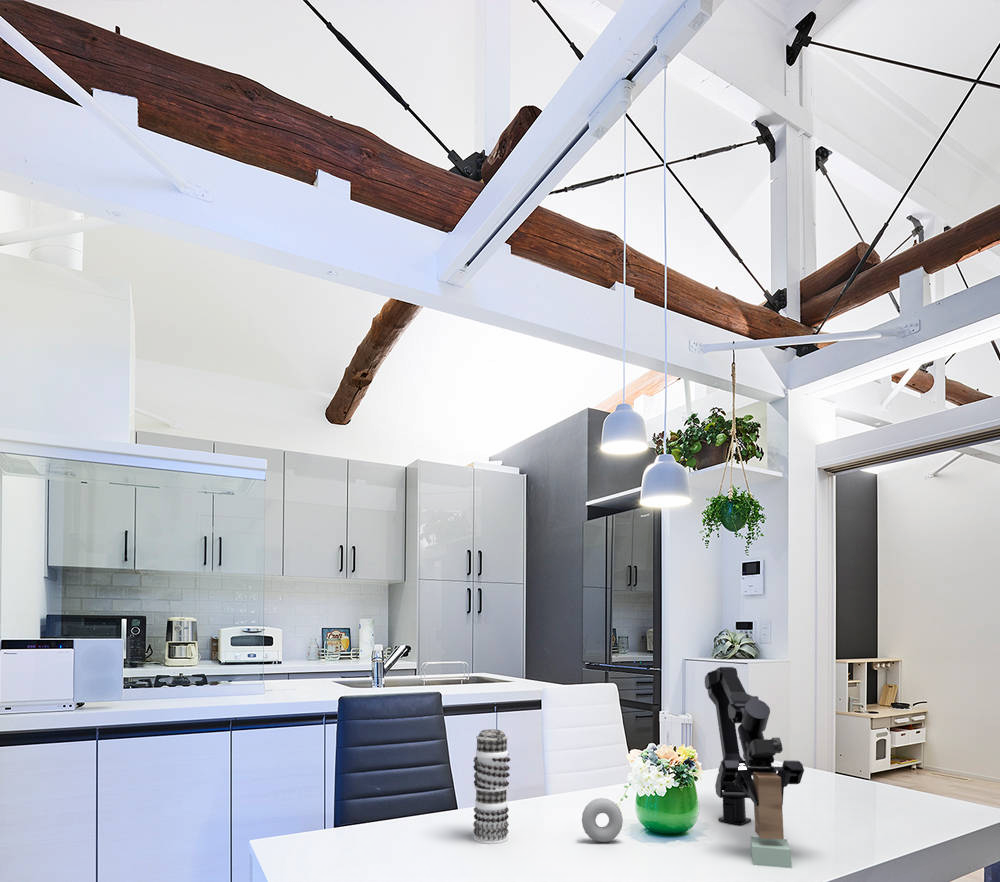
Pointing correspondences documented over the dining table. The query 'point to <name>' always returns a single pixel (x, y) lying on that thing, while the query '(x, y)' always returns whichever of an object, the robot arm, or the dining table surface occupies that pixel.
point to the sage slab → (770, 852)
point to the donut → (613, 825)
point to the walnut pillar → (768, 805)
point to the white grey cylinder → (491, 787)
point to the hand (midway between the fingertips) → (769, 805)
